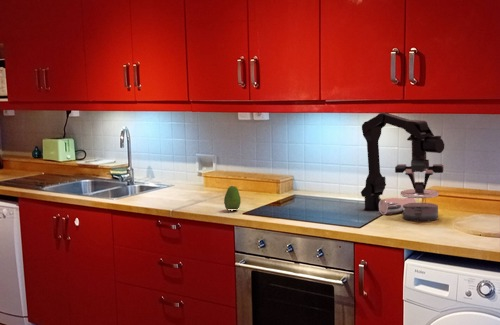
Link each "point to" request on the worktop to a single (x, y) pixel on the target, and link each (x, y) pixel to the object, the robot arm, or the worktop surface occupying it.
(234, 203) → the avocado
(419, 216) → the pot
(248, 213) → the worktop surface
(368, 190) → the robot arm
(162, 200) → the worktop surface
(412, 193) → the lid
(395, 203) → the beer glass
